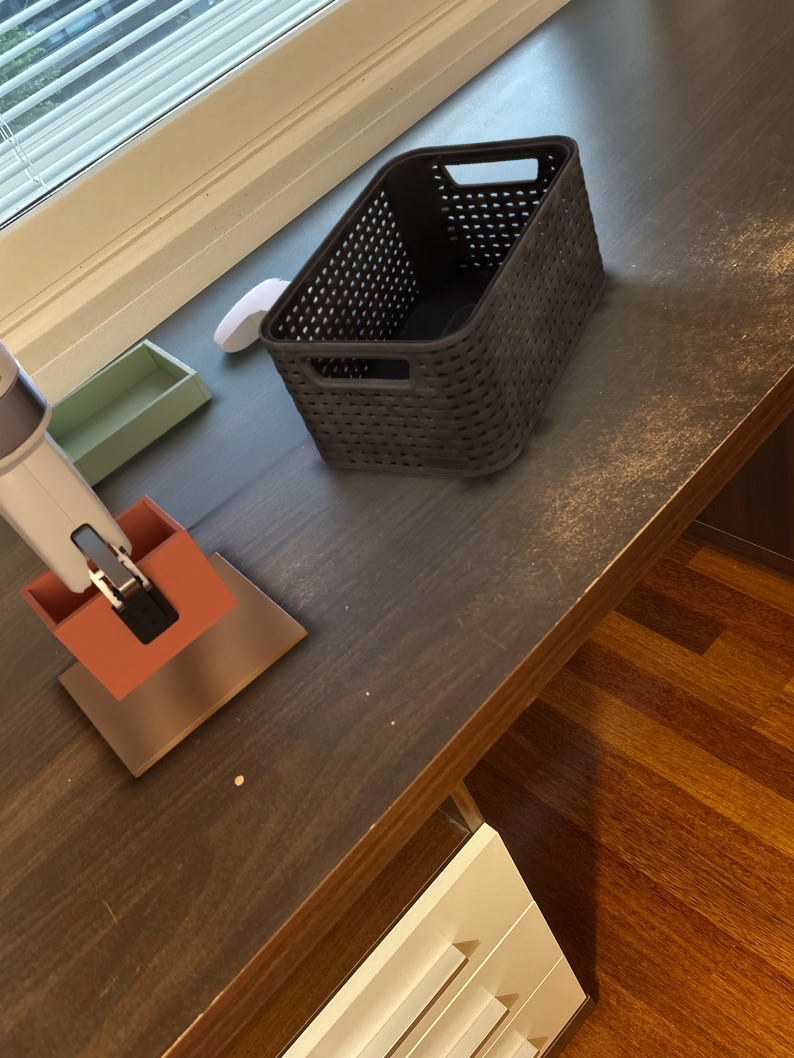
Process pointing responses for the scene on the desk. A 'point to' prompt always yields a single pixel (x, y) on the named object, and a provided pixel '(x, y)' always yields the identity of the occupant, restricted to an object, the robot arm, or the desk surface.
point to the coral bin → (89, 615)
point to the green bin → (124, 409)
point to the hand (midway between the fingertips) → (138, 606)
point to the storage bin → (441, 311)
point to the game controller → (255, 316)
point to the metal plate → (189, 676)
